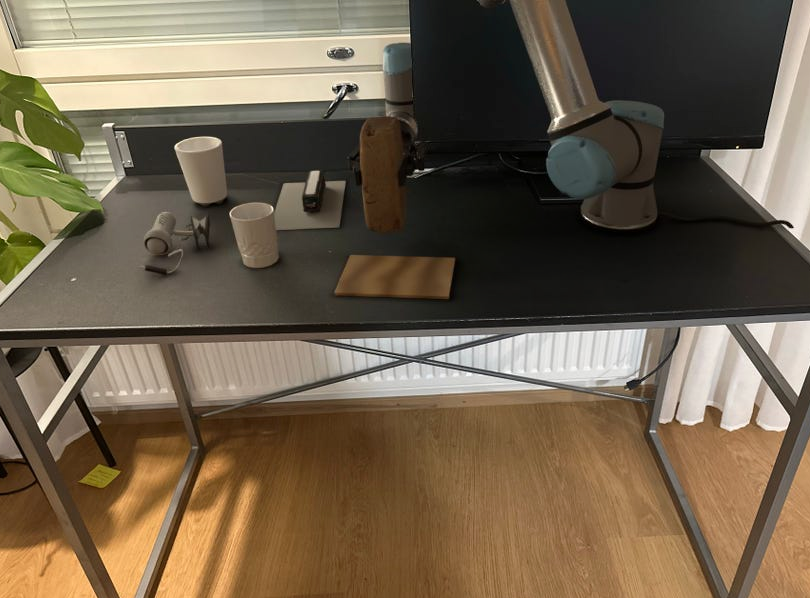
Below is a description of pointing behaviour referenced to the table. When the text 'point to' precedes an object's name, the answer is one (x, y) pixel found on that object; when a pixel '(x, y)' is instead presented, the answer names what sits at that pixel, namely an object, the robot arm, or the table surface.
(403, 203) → the block
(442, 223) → the table surface
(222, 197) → the cup
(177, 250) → the clip-on lamp
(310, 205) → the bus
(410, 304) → the table surface
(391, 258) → the cork mat
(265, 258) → the white cup
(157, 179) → the table surface
